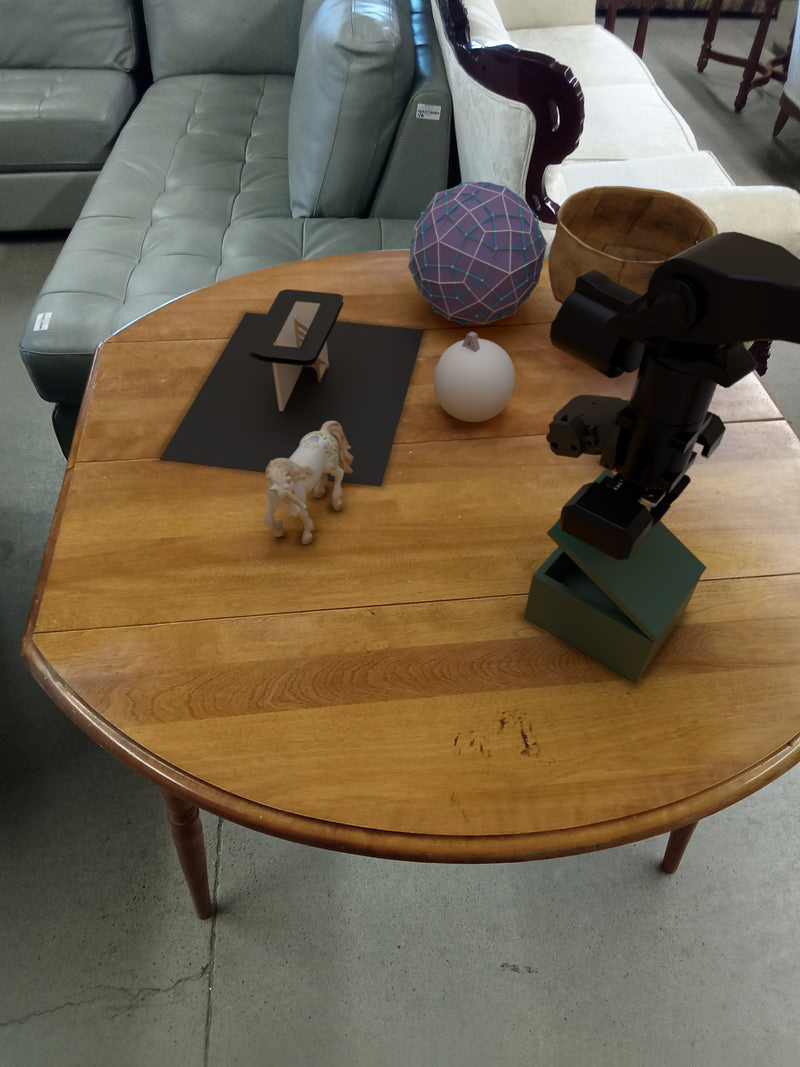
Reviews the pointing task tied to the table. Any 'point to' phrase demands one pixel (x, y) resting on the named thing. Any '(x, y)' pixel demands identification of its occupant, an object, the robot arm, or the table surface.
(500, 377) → the ornament
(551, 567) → the chest
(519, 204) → the decorative sphere
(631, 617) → the lid
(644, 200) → the bowl
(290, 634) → the table surface
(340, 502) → the unicorn figurine
